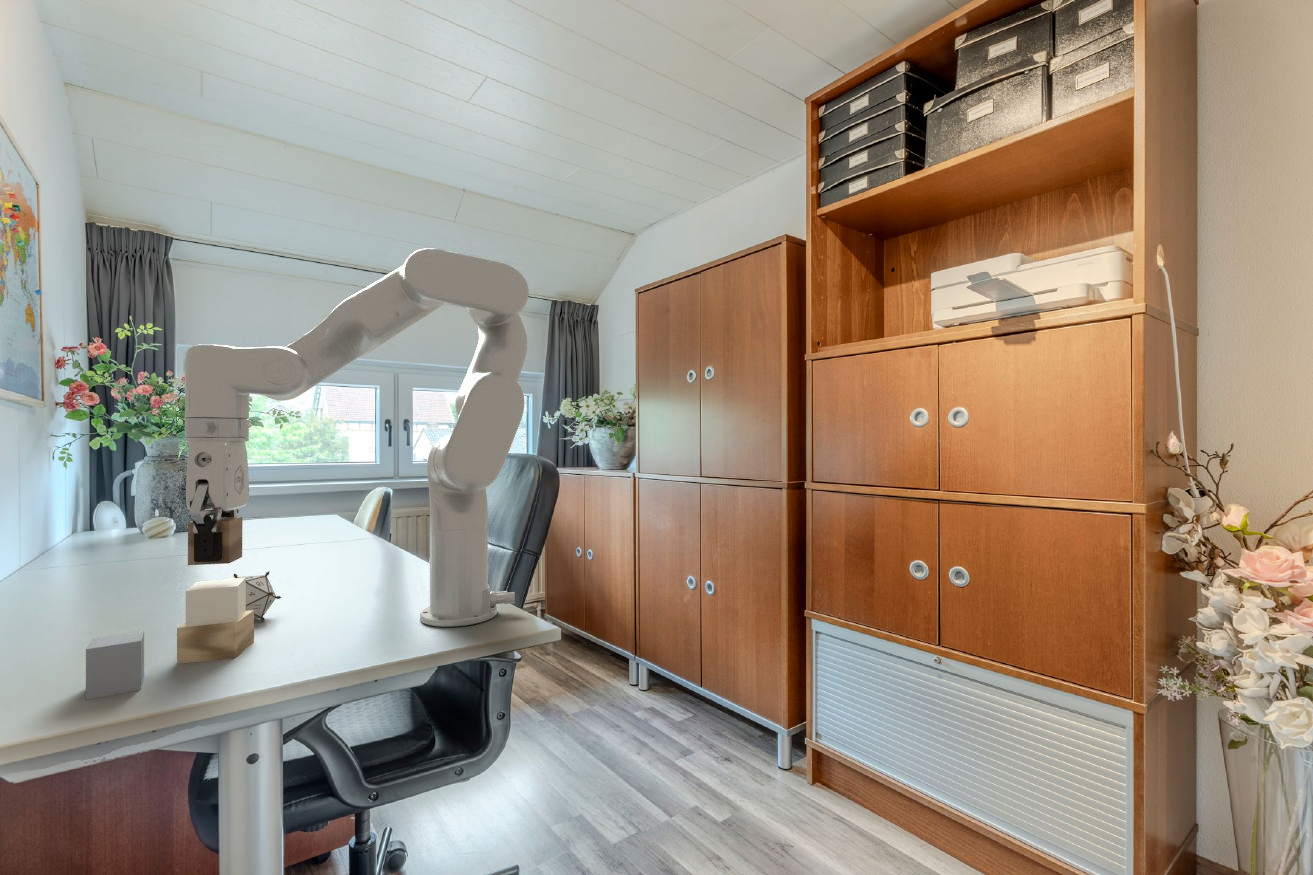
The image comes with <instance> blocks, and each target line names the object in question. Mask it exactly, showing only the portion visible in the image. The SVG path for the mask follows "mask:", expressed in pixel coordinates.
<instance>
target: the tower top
mask: <svg viewBox="0 0 1313 875" xmlns="http://www.w3.org/2000/svg"><path fill="white" fill-rule="evenodd" d="M245 611H246V578H235V577H234V578H225V579H214V580H213V579H212V580H203V581H202V580H201V581H195V582H194V583H193V584H191V585H190V587H189V588H187V589H186V590H185V623H186V627H191V626H201V625H210V624H219V623H228V622H238V620H239V619H240V618H241V616H242V615H243V614H244V612H245Z"/></svg>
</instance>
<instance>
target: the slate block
mask: <svg viewBox="0 0 1313 875" xmlns="http://www.w3.org/2000/svg"><path fill="white" fill-rule="evenodd" d="M144 679H145V630H138V631H132V632H126V633H120V634H119V633H118V634H114V635H113V634H112V635H105V636H98V637H92V638H91V639H90V641H89V643H88V645H87V646H86V649H85V701H86V700H92V699H96V698H97V699H98V698H103V697H108V696H112V695H119V694H123V693H128V692H129V693H130V692H134V691H139V690H142V688H143V683H144Z"/></svg>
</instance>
